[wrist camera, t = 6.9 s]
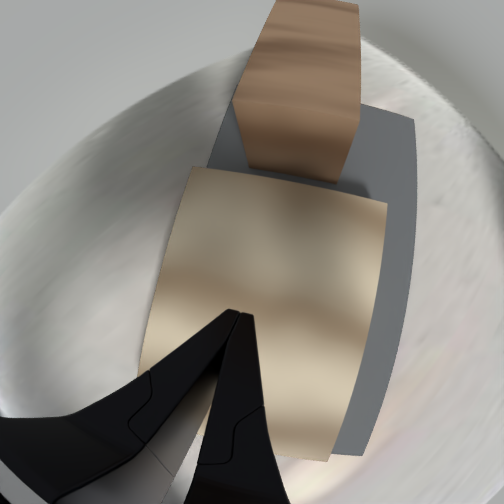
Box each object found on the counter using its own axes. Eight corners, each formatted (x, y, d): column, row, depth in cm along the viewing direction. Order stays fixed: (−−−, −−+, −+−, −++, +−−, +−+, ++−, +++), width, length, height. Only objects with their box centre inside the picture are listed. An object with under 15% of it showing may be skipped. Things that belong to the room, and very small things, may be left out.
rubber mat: (361, 454, 14) (362, 456, 14) (148, 404, 16) (146, 405, 16) (412, 121, 19) (413, 119, 18) (237, 87, 21) (237, 84, 21)
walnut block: (359, 121, 11) (358, 4, 13) (231, 100, 12) (279, -7, 14) (336, 184, 18) (347, 64, 20) (249, 167, 19) (283, 54, 21)
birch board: (322, 446, 14) (327, 461, 12) (147, 399, 16) (132, 408, 14) (376, 215, 17) (387, 203, 15) (201, 181, 19) (192, 166, 17)
